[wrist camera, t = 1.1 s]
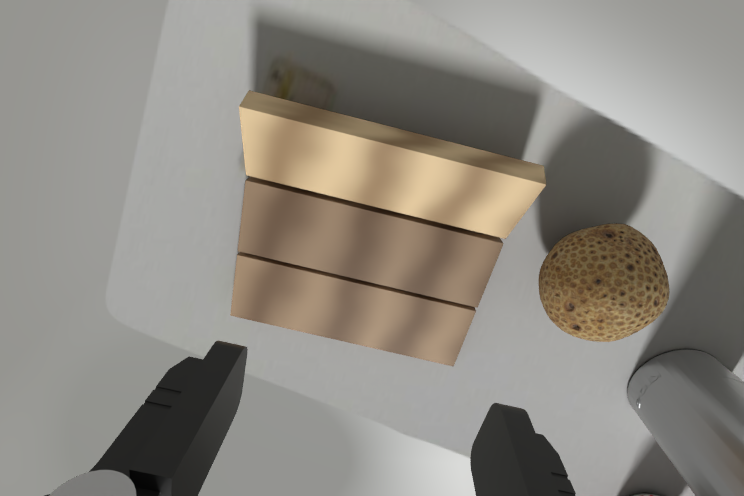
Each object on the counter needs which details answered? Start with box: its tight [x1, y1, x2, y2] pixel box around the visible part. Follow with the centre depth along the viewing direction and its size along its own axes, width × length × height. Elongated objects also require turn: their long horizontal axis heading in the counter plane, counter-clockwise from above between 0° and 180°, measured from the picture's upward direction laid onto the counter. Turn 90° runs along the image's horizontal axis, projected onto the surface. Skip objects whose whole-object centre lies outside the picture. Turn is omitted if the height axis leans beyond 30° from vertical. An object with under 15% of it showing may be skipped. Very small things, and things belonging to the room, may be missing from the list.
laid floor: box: [230, 176, 503, 366], centre depth 37 cm, size 22×13×2 cm, turn 77°
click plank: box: [239, 90, 546, 239], centre depth 31 cm, size 22×6×2 cm, turn 77°
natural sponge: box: [539, 223, 669, 342], centre depth 31 cm, size 9×9×10 cm
